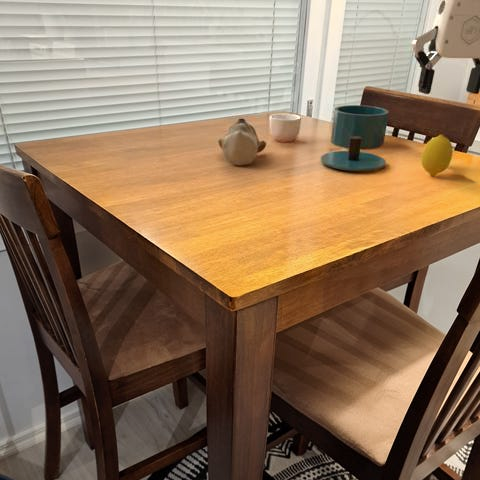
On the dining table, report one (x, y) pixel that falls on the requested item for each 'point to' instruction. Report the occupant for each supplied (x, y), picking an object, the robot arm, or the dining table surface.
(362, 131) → the pot
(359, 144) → the lid
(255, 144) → the ceramic sculpture
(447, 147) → the lemon
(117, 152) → the dining table surface
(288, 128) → the teacup
